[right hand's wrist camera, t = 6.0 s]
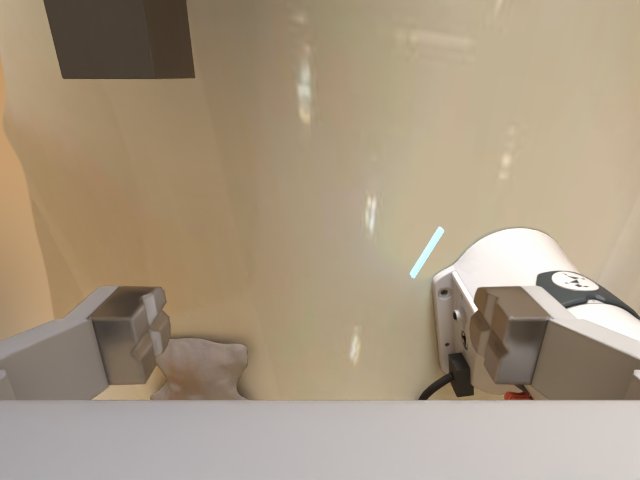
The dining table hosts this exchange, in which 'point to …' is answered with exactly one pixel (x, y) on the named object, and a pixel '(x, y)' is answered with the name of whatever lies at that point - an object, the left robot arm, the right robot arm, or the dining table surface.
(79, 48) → the bar
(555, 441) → the right robot arm
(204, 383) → the arrowhead
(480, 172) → the dining table surface
